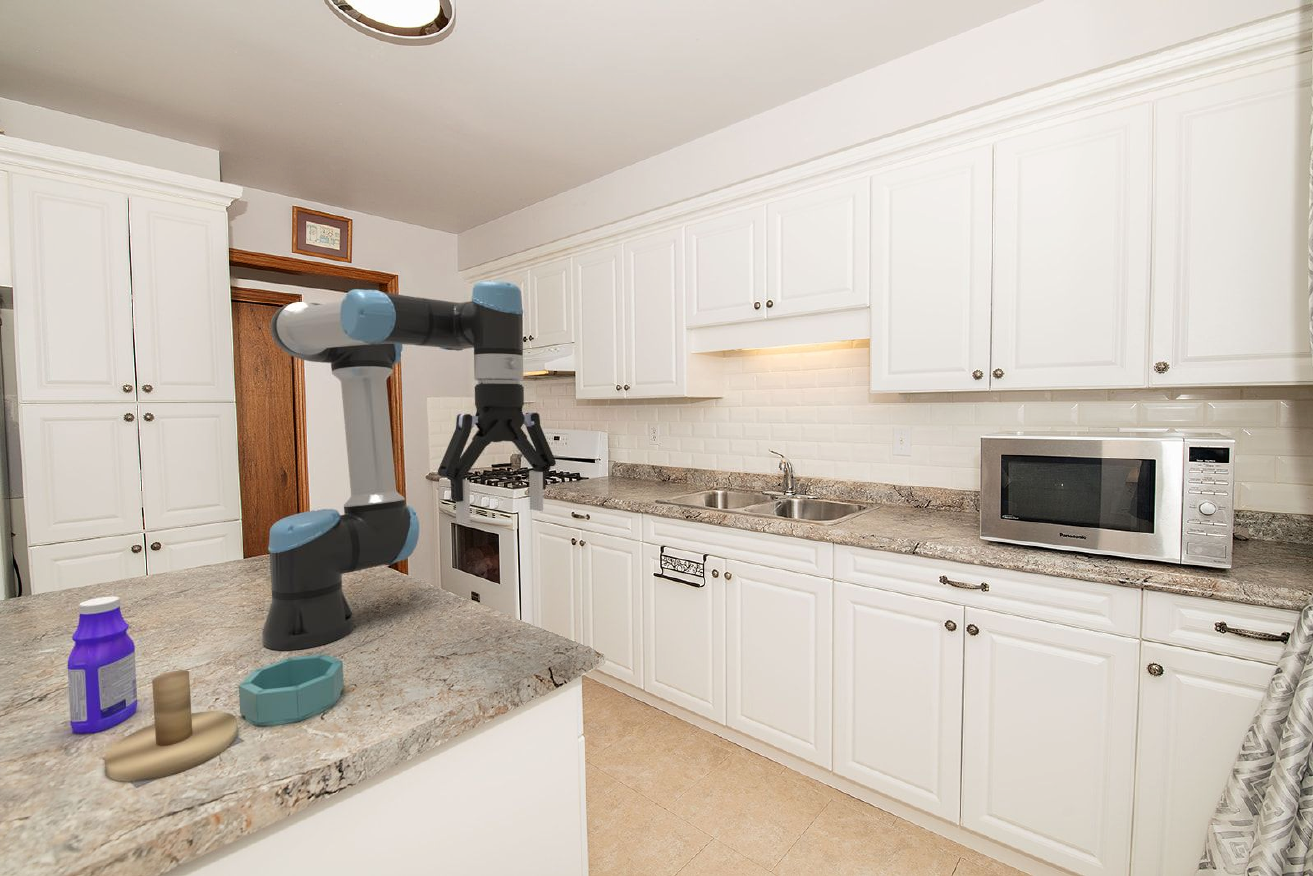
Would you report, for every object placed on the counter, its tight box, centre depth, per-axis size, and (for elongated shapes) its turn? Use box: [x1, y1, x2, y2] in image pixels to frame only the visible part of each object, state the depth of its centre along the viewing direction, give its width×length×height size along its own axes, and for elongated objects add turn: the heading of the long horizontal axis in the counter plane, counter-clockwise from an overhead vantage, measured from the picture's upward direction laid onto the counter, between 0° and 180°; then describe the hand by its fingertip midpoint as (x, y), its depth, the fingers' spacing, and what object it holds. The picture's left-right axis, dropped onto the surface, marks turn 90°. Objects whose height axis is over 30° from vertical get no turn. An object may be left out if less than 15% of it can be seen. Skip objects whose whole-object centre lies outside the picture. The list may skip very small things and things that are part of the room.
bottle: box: [67, 596, 138, 734], centre depth 82 cm, size 7×6×17 cm
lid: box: [104, 669, 239, 783], centre depth 75 cm, size 13×13×10 cm
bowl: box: [238, 653, 345, 727], centre depth 86 cm, size 12×12×5 cm
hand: (501, 516), depth 94 cm, fingers open, 13 cm apart
